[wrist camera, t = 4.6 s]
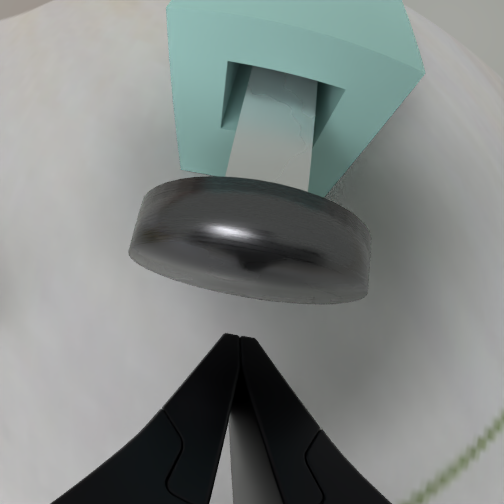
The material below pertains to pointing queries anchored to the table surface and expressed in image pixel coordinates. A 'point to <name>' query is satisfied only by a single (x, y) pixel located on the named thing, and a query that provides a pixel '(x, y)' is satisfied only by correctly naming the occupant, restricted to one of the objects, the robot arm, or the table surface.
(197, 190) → the plunger
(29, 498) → the table surface
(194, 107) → the block
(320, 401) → the table surface
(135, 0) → the table surface
